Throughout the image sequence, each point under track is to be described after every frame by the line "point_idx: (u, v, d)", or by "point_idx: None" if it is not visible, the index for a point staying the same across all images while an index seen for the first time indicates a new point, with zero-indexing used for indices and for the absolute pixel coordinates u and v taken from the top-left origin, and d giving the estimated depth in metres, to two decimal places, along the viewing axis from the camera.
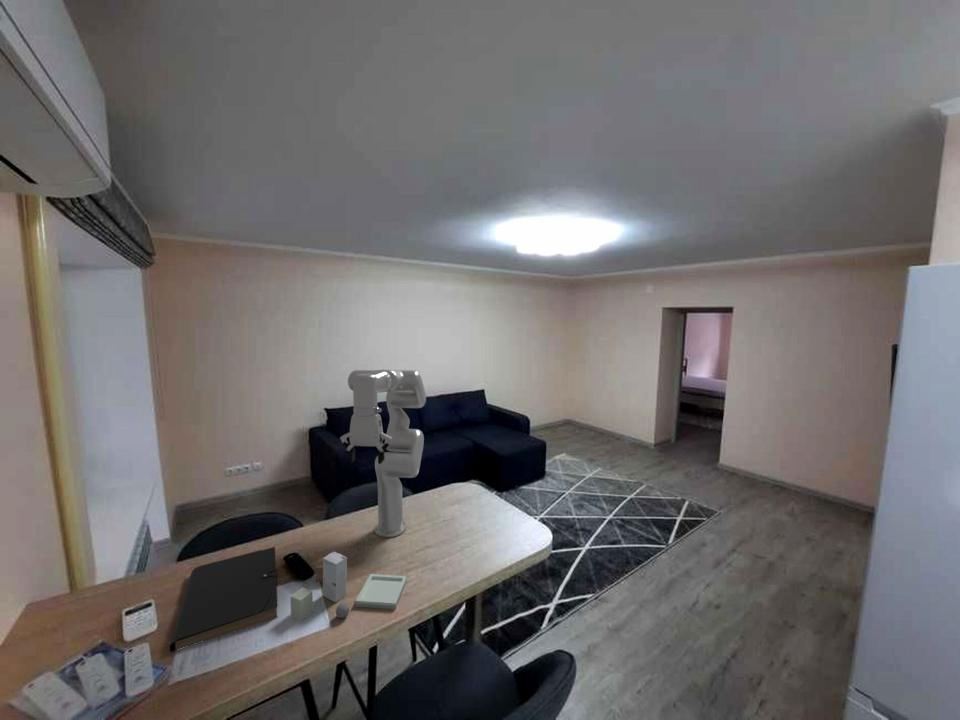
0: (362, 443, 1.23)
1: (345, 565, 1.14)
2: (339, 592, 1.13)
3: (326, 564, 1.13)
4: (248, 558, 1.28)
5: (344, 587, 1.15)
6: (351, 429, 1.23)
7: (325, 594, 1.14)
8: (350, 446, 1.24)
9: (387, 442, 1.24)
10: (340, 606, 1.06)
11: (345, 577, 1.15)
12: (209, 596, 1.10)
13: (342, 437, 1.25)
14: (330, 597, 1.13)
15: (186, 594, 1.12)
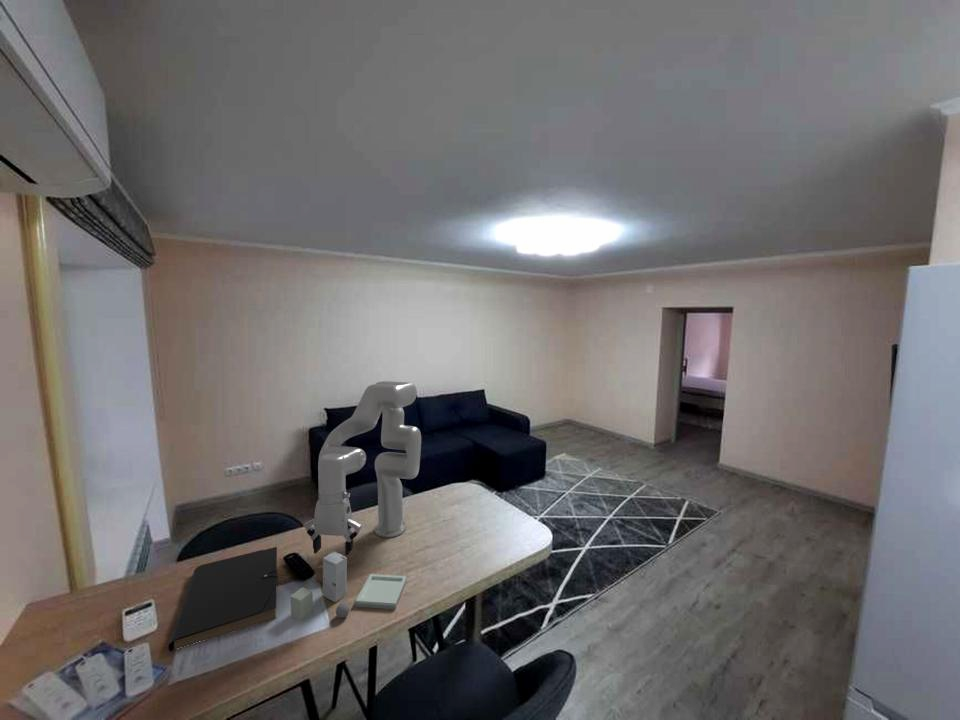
0: (328, 532, 1.11)
1: (345, 565, 1.14)
2: (339, 592, 1.13)
3: (326, 564, 1.13)
4: (250, 558, 1.28)
5: (344, 587, 1.15)
6: (316, 517, 1.11)
7: (325, 594, 1.14)
8: (314, 534, 1.12)
9: (356, 531, 1.12)
10: (340, 606, 1.06)
11: (345, 577, 1.15)
12: (209, 595, 1.10)
13: (306, 524, 1.13)
14: (330, 597, 1.13)
15: (187, 593, 1.12)
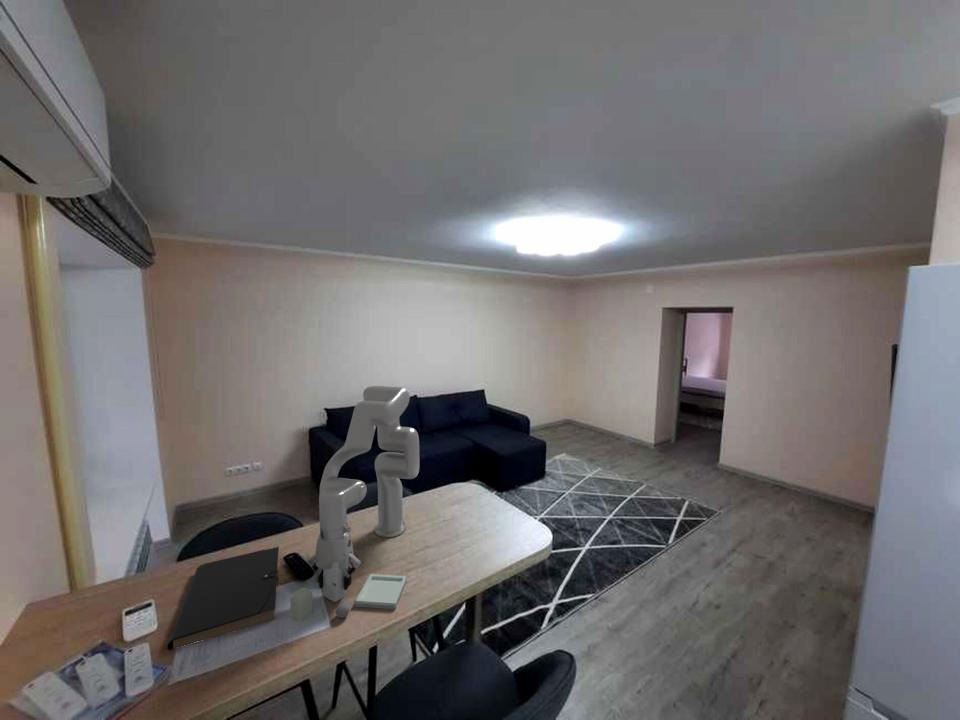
0: (329, 566, 1.12)
1: None
2: (339, 592, 1.13)
3: None
4: (251, 557, 1.28)
5: None
6: (317, 551, 1.12)
7: (325, 594, 1.14)
8: (319, 570, 1.13)
9: (354, 566, 1.13)
10: (340, 606, 1.06)
11: None
12: (210, 595, 1.10)
13: (310, 560, 1.14)
14: (330, 597, 1.13)
15: (188, 592, 1.13)
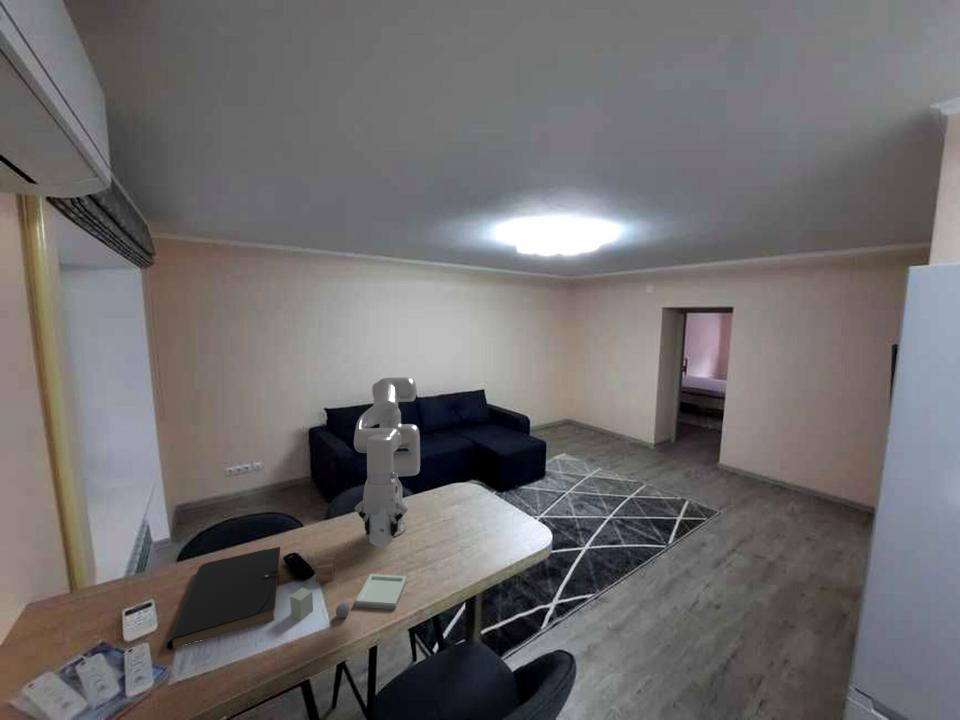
0: (377, 512, 1.12)
1: None
2: (386, 538, 1.12)
3: None
4: (253, 557, 1.28)
5: None
6: (365, 497, 1.12)
7: (372, 541, 1.14)
8: (366, 516, 1.13)
9: (402, 513, 1.13)
10: (340, 606, 1.06)
11: None
12: (211, 594, 1.11)
13: (356, 507, 1.14)
14: (377, 543, 1.12)
15: (190, 591, 1.13)
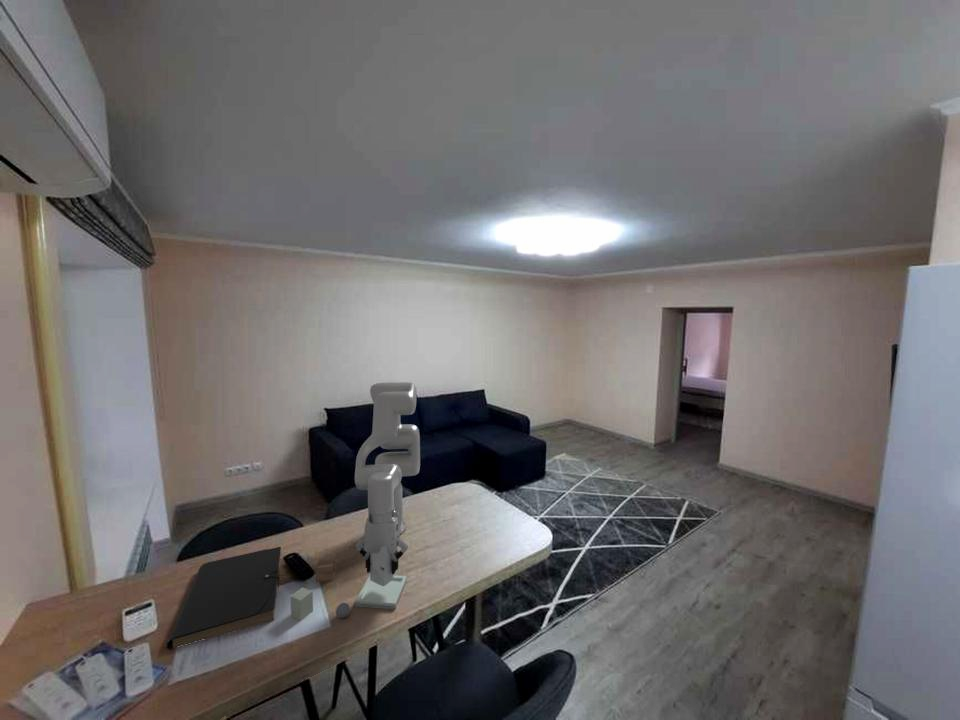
0: (377, 550, 1.13)
1: None
2: (387, 576, 1.13)
3: None
4: (254, 557, 1.28)
5: (391, 572, 1.15)
6: (365, 535, 1.13)
7: (372, 579, 1.14)
8: (366, 554, 1.14)
9: (402, 551, 1.14)
10: (340, 606, 1.06)
11: None
12: (211, 594, 1.11)
13: (357, 545, 1.15)
14: (378, 581, 1.13)
15: (190, 591, 1.13)
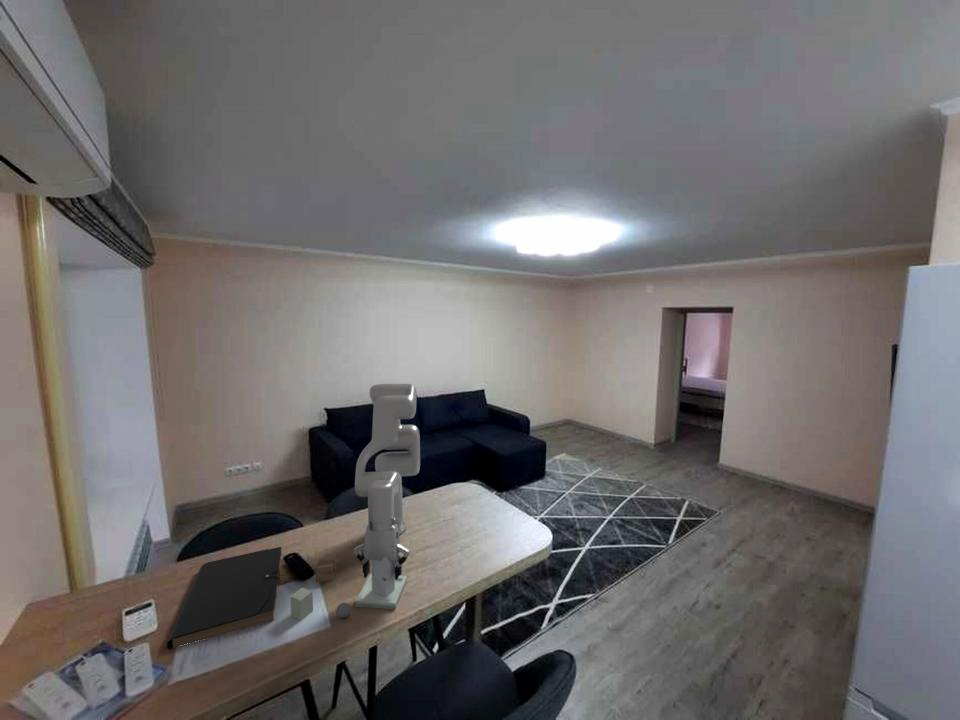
0: (378, 558, 1.13)
1: None
2: (388, 587, 1.14)
3: None
4: (254, 557, 1.28)
5: (393, 582, 1.15)
6: (366, 543, 1.13)
7: (374, 589, 1.15)
8: (364, 559, 1.14)
9: (405, 556, 1.14)
10: (340, 606, 1.06)
11: (394, 572, 1.16)
12: (211, 594, 1.11)
13: (356, 549, 1.15)
14: (380, 591, 1.14)
15: (191, 590, 1.13)
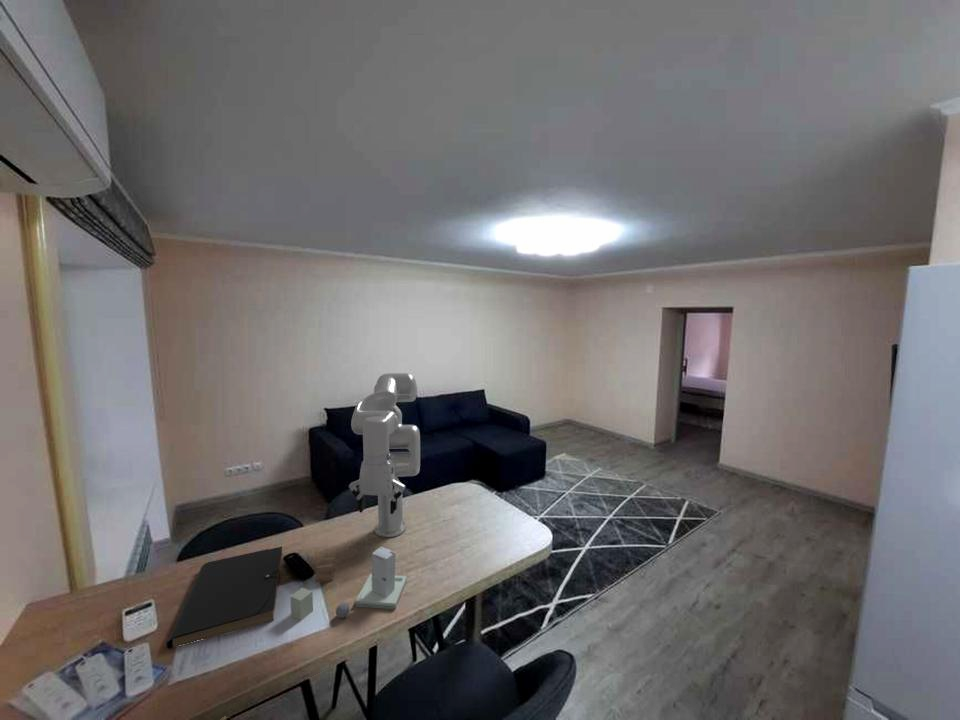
0: (373, 492, 1.14)
1: (394, 560, 1.15)
2: (388, 587, 1.14)
3: (376, 559, 1.14)
4: (255, 557, 1.28)
5: (393, 582, 1.15)
6: (361, 477, 1.13)
7: (374, 589, 1.15)
8: (360, 494, 1.15)
9: (400, 491, 1.15)
10: (340, 606, 1.06)
11: (394, 572, 1.16)
12: (212, 594, 1.11)
13: (351, 485, 1.16)
14: (380, 591, 1.14)
15: (191, 590, 1.13)
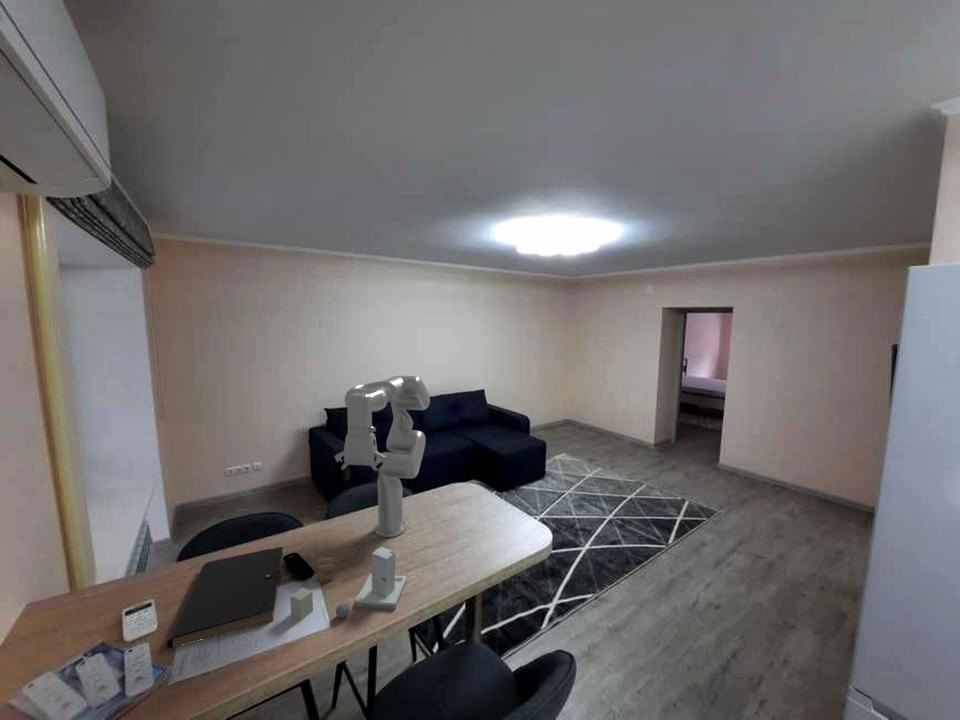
0: (356, 462, 1.23)
1: (394, 560, 1.15)
2: (388, 587, 1.14)
3: (376, 559, 1.14)
4: (256, 556, 1.29)
5: (393, 582, 1.15)
6: (345, 448, 1.23)
7: (374, 589, 1.15)
8: (344, 464, 1.25)
9: (381, 461, 1.24)
10: (340, 606, 1.06)
11: (394, 572, 1.16)
12: (212, 593, 1.11)
13: (337, 456, 1.25)
14: (380, 591, 1.14)
15: (192, 590, 1.14)
